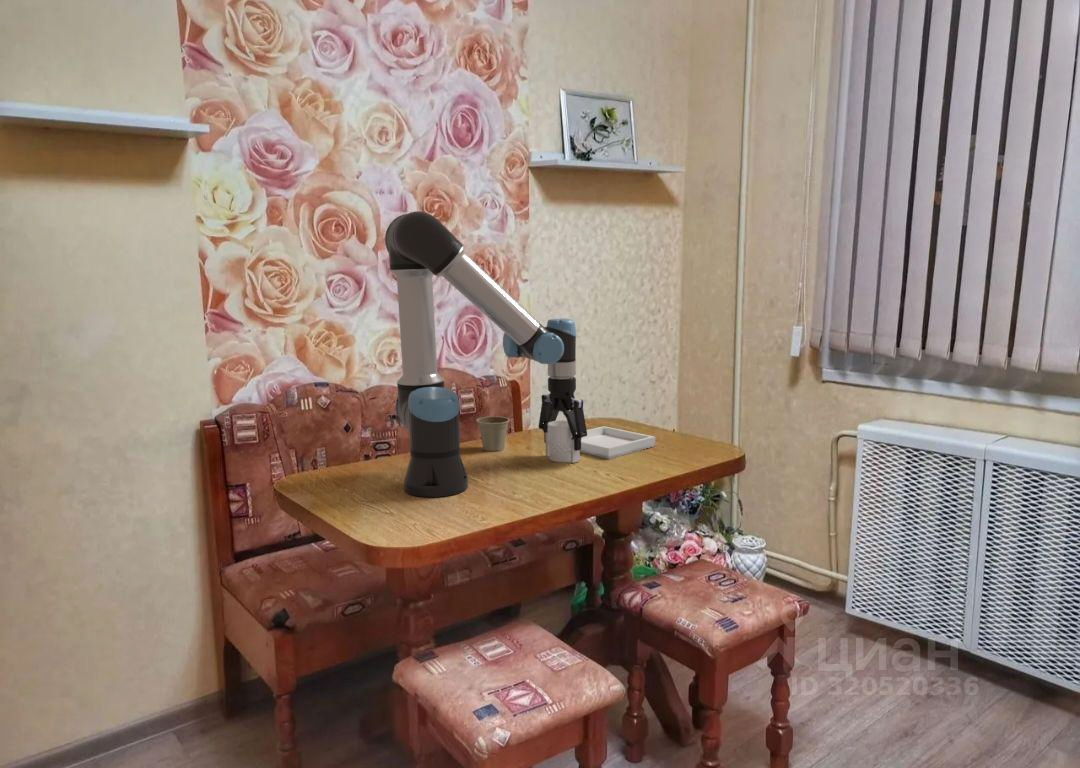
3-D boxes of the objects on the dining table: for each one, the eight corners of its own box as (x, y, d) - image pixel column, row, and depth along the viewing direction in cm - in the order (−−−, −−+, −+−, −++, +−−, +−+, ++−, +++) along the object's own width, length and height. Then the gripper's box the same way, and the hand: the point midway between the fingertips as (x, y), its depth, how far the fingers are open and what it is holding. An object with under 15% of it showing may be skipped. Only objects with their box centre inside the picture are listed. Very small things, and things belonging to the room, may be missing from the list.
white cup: (561, 464, 198) (561, 427, 196) (541, 459, 203) (541, 423, 202) (582, 459, 203) (582, 423, 201) (562, 454, 208) (562, 419, 207)
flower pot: (509, 453, 210) (508, 423, 209) (475, 453, 210) (475, 423, 209) (511, 445, 219) (510, 416, 218) (479, 445, 220) (478, 416, 218)
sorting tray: (608, 459, 202) (608, 448, 202) (557, 446, 217) (557, 436, 217) (655, 446, 216) (655, 436, 215) (604, 435, 230) (604, 426, 230)
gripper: (601, 379, 194) (601, 463, 198) (544, 371, 210) (545, 449, 213) (581, 382, 189) (581, 468, 193) (524, 374, 205) (525, 453, 208)
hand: (562, 458), depth 203 cm, fingers open, 9 cm apart
